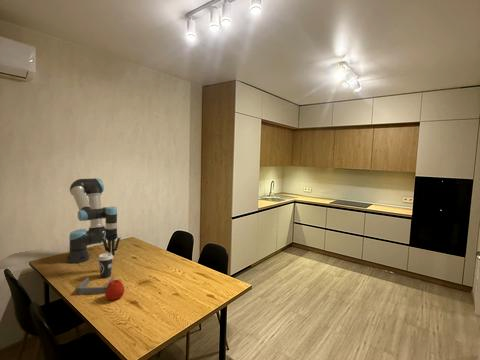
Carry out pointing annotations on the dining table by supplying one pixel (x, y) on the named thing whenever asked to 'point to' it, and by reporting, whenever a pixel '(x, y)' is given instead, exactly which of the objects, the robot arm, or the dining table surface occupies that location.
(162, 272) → the dining table surface
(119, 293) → the apple
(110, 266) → the coffee cup
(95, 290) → the bay
